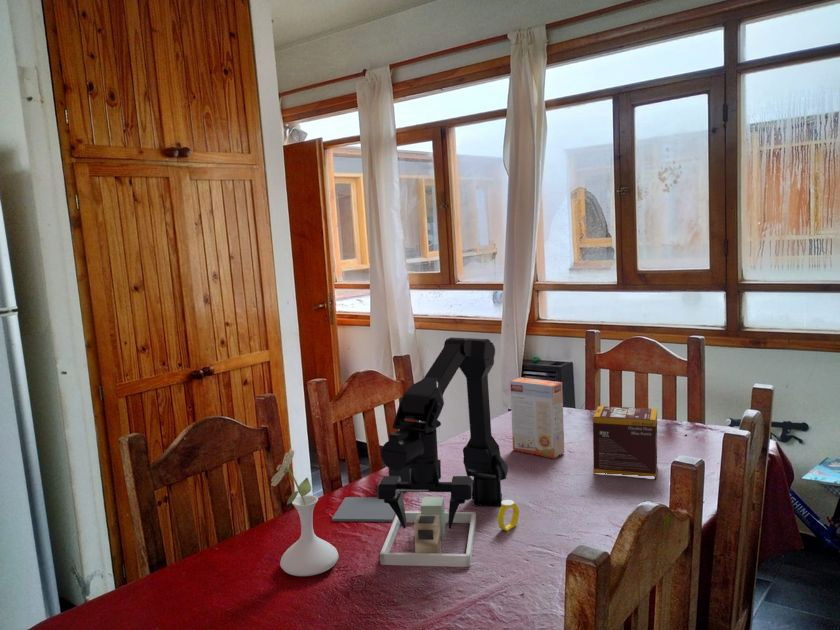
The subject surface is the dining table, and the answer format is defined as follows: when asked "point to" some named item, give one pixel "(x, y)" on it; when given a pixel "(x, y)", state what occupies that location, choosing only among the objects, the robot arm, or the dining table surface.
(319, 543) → the flower in vase
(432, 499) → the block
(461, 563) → the white square frame
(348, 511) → the mat
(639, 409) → the supplement box
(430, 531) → the labelled block
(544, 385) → the cracker box
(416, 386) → the robot arm
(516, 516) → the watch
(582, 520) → the dining table surface
